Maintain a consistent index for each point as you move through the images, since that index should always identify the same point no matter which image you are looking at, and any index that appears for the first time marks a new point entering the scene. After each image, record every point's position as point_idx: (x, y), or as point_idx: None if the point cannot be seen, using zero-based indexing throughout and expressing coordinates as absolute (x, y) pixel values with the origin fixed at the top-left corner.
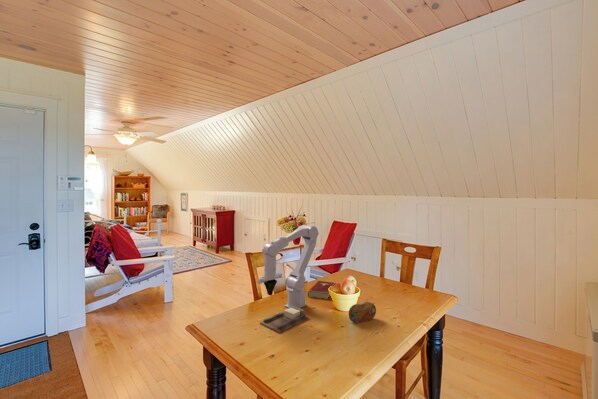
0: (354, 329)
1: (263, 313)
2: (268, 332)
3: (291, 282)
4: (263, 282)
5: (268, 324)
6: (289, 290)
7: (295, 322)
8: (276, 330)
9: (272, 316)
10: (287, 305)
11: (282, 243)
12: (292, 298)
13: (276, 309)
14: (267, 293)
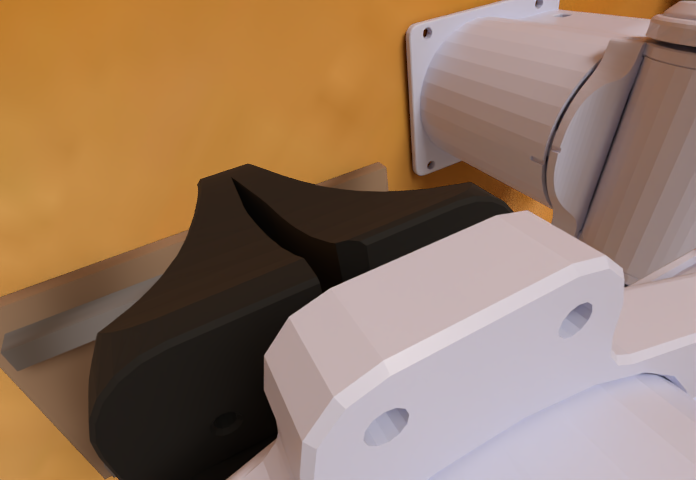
0: None
1: (96, 74)
2: (14, 453)
3: (678, 220)
4: (101, 360)
5: (49, 381)
6: (555, 157)
7: None
8: (89, 460)
9: None
10: (429, 56)
11: None
12: (487, 166)
13: (296, 54)
14: (198, 187)
